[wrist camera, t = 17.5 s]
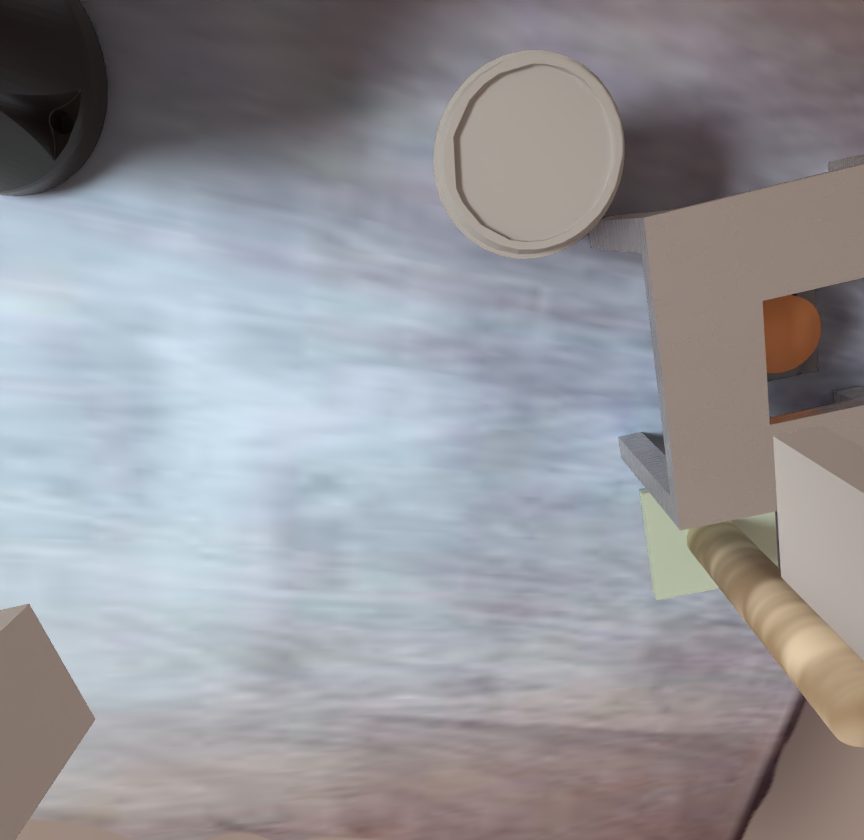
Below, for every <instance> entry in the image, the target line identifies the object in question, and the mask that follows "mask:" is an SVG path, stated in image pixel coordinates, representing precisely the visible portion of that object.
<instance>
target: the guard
mask: <svg viewBox="0 0 864 840" xmlns="http://www.w3.org/2000/svg"><path fill="white" fill-rule="evenodd" d="M589 238H590V245H591V248H594V249H603V250H613V251H622V252H632V253H641V254H642V261H643V270H644V278H645V286H646V295H647V303H648V311H649V320H650V328H651V337H652V345H653V353H654V362H655V370H656V378H657V387H658V395H659V403H660V412H661V420H662V429H663V437H664V445H665V454H666V456H665V455H664V454H663V453H662V452H661V451H660V450H659V449H658V448H657V447H656V446H655V445H654V444H653V443H652V442H651V441H650V440H649V439H648V438H647V437H646V436H645V435H644V434H643V433H642V432H641V433H636V434H631V435H627V436H622V437H618V438H619V445H620V452H621V458H622V460H623V461H624V462H625V463H626V465H627V466H628V467H629V468H630V469H631V471H632V472H633V473H634V474H635V476H636V477H637V478H638V479H639V481H640V482H641V483H642V484H643V485H644V487H645V488H646V489H647V490H648V492H649V493H650V494H651V495H652V496H653V498H654V499H655V500H656V501H657V503H658V504H659V505H660V506H661V508H662V509H663V510H664V511H665V512H666V514H667V515H668V516H669V517H670V519H671V520H672V521H673V522H674V524H675V525H676V526H677V527H678V528H679V530H680V531H681V530H686V529H691V528H696V527H701V526H706V525H711V524H716V523H721V522H726V521H731V520H736V519H741V518H746V517H751V516H756V515H761V514H766V513H771V512H776V511H777V496H776V479H775V461H774V443H773V436H776V435H781V434H785V433H790V432H794V431H799V430H803V429H807V428H812V427H816V426H823V427H825V428H827V429H829V430H831V431H833V432H835V433H837V434H839V435H840V436H842V437H844V438H846V439H848V440H850V441H852V442H854V443H856V444H858V445H860V446H861V447H863V448H864V388H863V387H860V386H856V387H851V388H846V389H842V390H837V391H834V404H831V405H826V406H822V407H817V408H812V409H807V410H803V411H798V412H793V413H789V414H784V415H779V416H774V417H770V418H769V403H768V386H767V382H769V381H773V380H778V379H783V378H787V377H792V376H796V375H801V374H806V373H810V372H815V371H818V353H817V347H816V348H815V350H814V352H813V353H812V354H811V356H810V357H809V358H808V359H807V360H806V361H804V362H803V363H802V364H801V365H799V366H798V367H796V368H794V369H792V370H789V371H786V372H781V373H767V369H766V352H765V335H764V318H763V301H764V300H769V299H773V298H778V297H782V296H786V295H794V296H798V297H801V298H804V299H806V300H807V301H809V302H810V303H811V304H813V306H814V307H815V308H816V289H817V288H821V287H826V286H830V285H835V284H839V283H843V282H848V281H852V280H856V279H861V278H864V155H858V156H854V157H850V158H846V159H842V160H837V161H833V162H829V172H825V173H821V174H817V175H813V176H809V177H805V178H801V179H797V180H792V181H788V182H784V183H780V184H776V185H772V186H768V187H764V188H760V189H755V190H751V191H747V192H743V193H739V194H735V195H731V196H727V197H723V198H718V199H714V200H710V201H706V202H702V203H698V204H694V205H690V206H686V207H682V208H677V209H673V210H664V211H654V212H643V213H633V214H622V215H613V216H608V217H604V218H601V220H600V221H599V222H598V224H597V225H596V226H595V227H594V228H593V229H592V230H591V231H590V232H589Z"/></svg>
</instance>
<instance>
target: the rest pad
mask: <svg viewBox="0 0 864 840" xmlns="http://www.w3.org/2000/svg"><path fill="white" fill-rule="evenodd" d="M639 494H640V501H641V509H642V516H643V523H644V530H645V538H646V545H647V552H648V559H649V567H650V574H651V581H652V589H653V595H654V597H655V598H656V600H661V599H666V598H672V597H677V596H682V595H687V594H693V593H698V592H703V591H708V590H714V589H719V587H718V586H717V585H716V583H715V582H714V581H713V579H712V578H711V577H710V576H709V574H708V573H707V572H706V570H705V569H704V568H703V567H702V565H701V564H700V563H699V562H698V560H697V559H696V558H695V556H694V555H693V554H692V553H691V551H690V550H689V548H688V546H687V534H688V531H689V529H686V530H681V531H680V530H679V528H678V527H677V526H676V525H675V524H674V522H673V521H672V520H671V519H670V517H669V516H668V515H667V514H666V512H665V511H664V510H663V509H662V508H661V506H660V505H659V504H658V503H657V501H656V500H655V499H654V498H653V496H652V495H651V494H650V493H649V492H648V490H647V489H646V488H645V489H640V490H639ZM731 521H732V522H733V523H734V524H735V525H736V526H737V527H738V528H739V529H740V530H741V531H742V532H743V533H744V534H745V535H746V536H747V537H748V538H749V539H750V540H751V541H752V542H753V543H754V544H755V545H756V546H757V547H758V548H759V549H760V550H761V551H762V552H763V553H764V554H765V555H766V556H767V557H768V558H769V559H770V560H771V561H772V562H773V563H774V564H776V565H777V566H778V553H777V536H776V519H775V512H771V513H766V514H761V515H756V516H751V517H746V518H741V519H736V520H731Z"/></svg>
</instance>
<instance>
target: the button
mask: <svg viewBox="0 0 864 840" xmlns="http://www.w3.org/2000/svg"><path fill="white" fill-rule="evenodd" d="M763 318H764V335H765V352H766V369H767V373H781V372H786V371H789V370H792V369H794V368H796V367H798V366H799V365H801V364H802V363H803V362H804V361H806V360H807V359H808V358H809V357H810V356H811V354H812V353H813V352H814V350H815V348H816V347H817V345H818V342H819V340H820V336H821V329H822V325H821V319H820V315H819V313H818V311H817V309H816V308H815V307H814V306H813V304H811V303H810V302H809V301H807V300H806V299H804V298H801V297H798V296H794V295H786V296H782V297H778V298H773V299H769V300H764V301H763Z"/></svg>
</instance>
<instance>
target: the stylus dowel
mask: <svg viewBox="0 0 864 840" xmlns="http://www.w3.org/2000/svg"><path fill="white" fill-rule="evenodd" d="M687 546H688V548H689V550H690V551H691V553H692V554H693V555H694V556H695V558H696V559H697V560H698V562H699V563H700V564H701V565H702V567H703V568H704V569H705V570H706V572H707V573H708V574H709V576H710V577H711V578H712V579H713V581H714V582H715V583H716V585H717V586H718V587H719V588H720V590H721V591H722V592H723V593H724V595H725V596H726V597H727V599H728V600H729V601H730V602H731V604H732V605H733V606H734V607H735V609H736V610H737V611H738V613H739V614H740V615H741V616H742V618H743V619H744V620H745V622H746V623H747V624H748V625H749V627H750V628H751V629H752V630H753V632H754V633H755V634H756V636H757V637H758V638H759V639H760V641H761V642H762V643H763V644H764V646H765V647H766V648H767V650H768V651H769V652H770V653H771V655H772V656H773V657H774V659H775V660H776V661H777V662H778V664H779V665H780V666H781V667H782V669H783V670H784V671H785V673H786V674H787V675H788V676H789V678H790V679H791V680H792V681H793V683H794V684H795V685H796V687H797V688H798V689H799V690H800V692H801V693H802V694H803V696H804V697H805V698H806V699H807V701H808V702H809V703H810V704H811V706H812V707H813V708H814V709H815V711H816V712H817V713H818V715H819V716H820V717H821V718H822V720H823V721H824V722H825V724H826V725H827V726H828V727H829V729H830V730H831V731H832V733H833V734H834V735H835V736H836V737H837V738H838V739H839V740H840V741H842V742H843V743H845V744H848V745H851V746H855V747H864V661H863V660H862V659H861V658H860V657H859V656H858V655H857V653H856V652H855V651H854V650H853V649H852V648H851V647H850V646H849V645H848V644H847V643H846V642H845V641H844V640H843V639H842V638H841V637H840V636H839V635H838V634H837V633H836V632H835V631H834V630H833V629H832V628H831V627H830V626H829V625H828V624H827V623H826V622H825V621H824V620H823V619H822V618H821V617H820V616H819V615H818V614H817V613H816V612H815V611H814V610H813V609H812V608H811V607H810V606H809V605H808V604H807V603H806V602H805V601H804V600H803V599H802V598H801V597H800V596H799V595H798V594H797V593H796V592H795V591H794V590H793V589H792V588H791V587H790V586H789V585H788V584H787V582H786V581H785V580H784V579H783V578H782V577H781V569H780V568H779V567H778V566H777V565H776V564H774V563H773V562H772V561H771V560H770V559H769V558H768V557H767V556H766V555H765V554H764V553H763V552H762V551H761V550H760V549H759V548H758V547H757V546H756V545H755V544H754V543H753V542H752V541H751V540H750V539H749V538H748V537H747V536H746V535H745V534H744V533H743V532H742V531H741V530H740V529H739V528H738V527H737V526H736V525H735V524H734V523H733V522H732V521H726V522H721V523H716V524H711V525H706V526H701V527H696V528H691V529H689V531H688V534H687Z"/></svg>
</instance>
